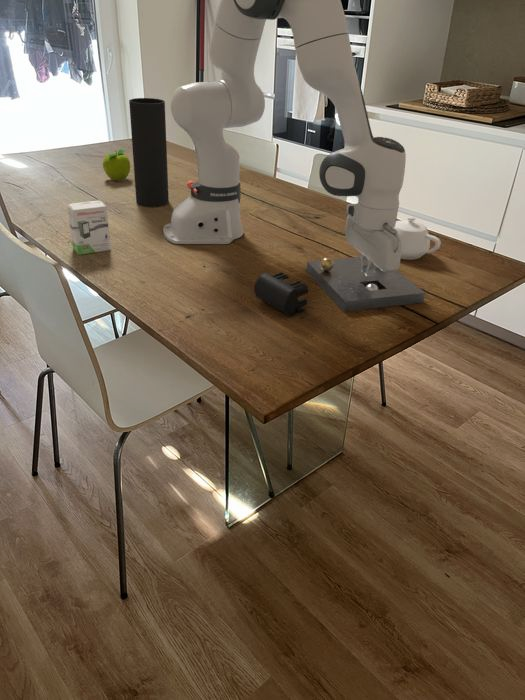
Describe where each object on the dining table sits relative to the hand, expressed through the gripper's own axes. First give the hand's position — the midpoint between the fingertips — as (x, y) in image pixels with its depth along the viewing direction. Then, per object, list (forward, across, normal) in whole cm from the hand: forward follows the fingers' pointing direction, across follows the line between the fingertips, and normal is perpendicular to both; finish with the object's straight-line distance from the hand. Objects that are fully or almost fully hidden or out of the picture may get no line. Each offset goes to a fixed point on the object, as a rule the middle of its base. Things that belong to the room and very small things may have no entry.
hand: (367, 274), depth 131 cm
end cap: (+4, -5, +23) cm, 24 cm away
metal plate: (+4, +1, 0) cm, 4 cm away
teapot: (+4, +18, -21) cm, 28 cm away
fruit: (+4, +99, +47) cm, 110 cm away
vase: (+4, +72, +39) cm, 82 cm away
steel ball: (+2, -4, +1) cm, 5 cm away
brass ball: (0, +6, +8) cm, 10 cm away
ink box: (+4, +36, +60) cm, 70 cm away
